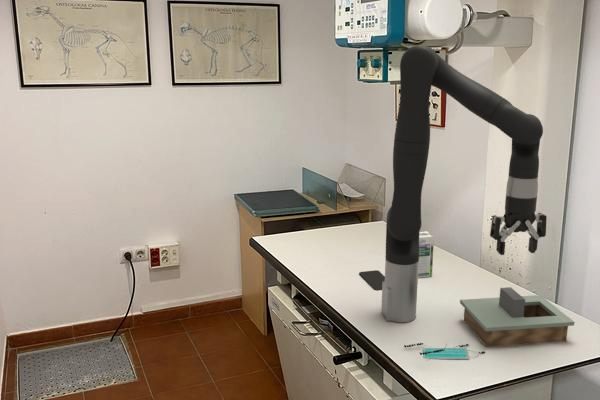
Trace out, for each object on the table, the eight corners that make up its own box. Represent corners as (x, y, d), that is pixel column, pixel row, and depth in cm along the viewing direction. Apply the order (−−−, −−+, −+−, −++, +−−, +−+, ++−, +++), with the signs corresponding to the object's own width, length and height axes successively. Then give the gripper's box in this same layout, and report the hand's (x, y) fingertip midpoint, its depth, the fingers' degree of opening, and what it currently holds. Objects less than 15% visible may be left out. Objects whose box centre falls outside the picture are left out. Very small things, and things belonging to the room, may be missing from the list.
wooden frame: (486, 346, 153) (488, 329, 152) (463, 320, 168) (464, 304, 166) (566, 341, 156) (568, 323, 155) (536, 315, 171) (538, 299, 169)
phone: (374, 289, 188) (357, 272, 202) (374, 292, 188) (357, 274, 202) (396, 287, 190) (378, 269, 204) (396, 289, 190) (378, 272, 204)
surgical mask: (417, 355, 142) (398, 335, 151) (416, 371, 143) (397, 351, 152) (491, 343, 148) (469, 324, 157) (490, 358, 149) (468, 339, 158)
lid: (486, 331, 151) (487, 309, 149) (460, 303, 167) (461, 283, 166) (574, 325, 154) (576, 304, 152) (540, 298, 170) (542, 278, 169)
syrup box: (416, 278, 197) (418, 237, 194) (409, 272, 203) (411, 231, 199) (432, 276, 199) (434, 235, 195) (424, 270, 204) (426, 230, 201)
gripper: (539, 188, 157) (534, 246, 161) (488, 191, 155) (484, 250, 159) (555, 195, 150) (549, 256, 154) (502, 198, 148) (497, 259, 152)
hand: (516, 253), depth 156 cm, fingers open, 8 cm apart
